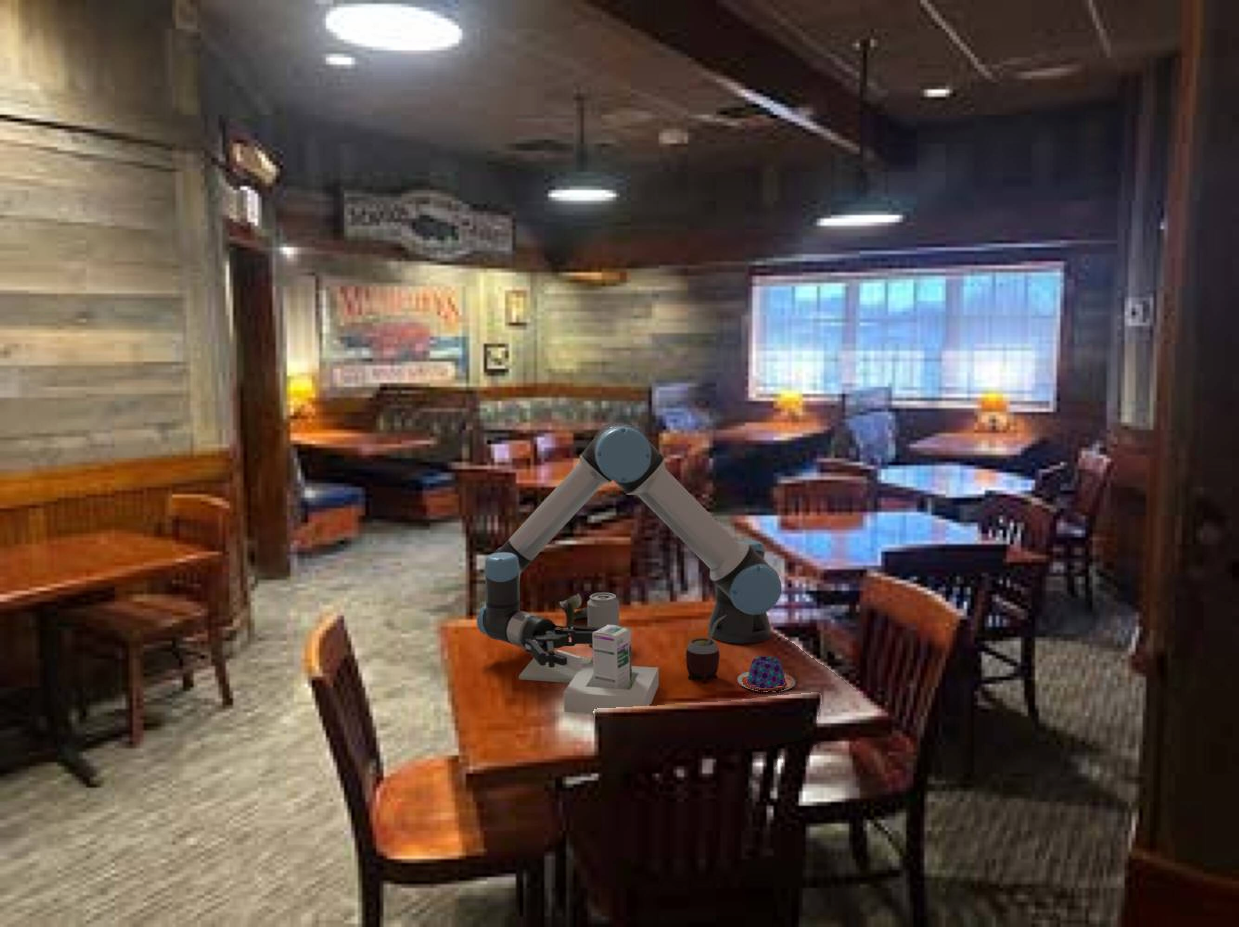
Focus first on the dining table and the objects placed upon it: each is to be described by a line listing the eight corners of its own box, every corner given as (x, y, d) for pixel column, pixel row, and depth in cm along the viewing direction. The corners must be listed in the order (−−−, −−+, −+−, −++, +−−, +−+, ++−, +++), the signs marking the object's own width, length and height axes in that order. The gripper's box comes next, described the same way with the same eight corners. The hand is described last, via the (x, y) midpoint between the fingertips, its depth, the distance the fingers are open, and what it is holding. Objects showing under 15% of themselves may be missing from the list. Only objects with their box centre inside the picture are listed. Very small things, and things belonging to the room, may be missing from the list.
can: (620, 639, 216) (620, 591, 214) (617, 650, 209) (617, 600, 207) (590, 638, 217) (589, 590, 215) (585, 649, 210) (585, 599, 208)
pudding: (807, 685, 187) (807, 661, 187) (768, 700, 180) (768, 675, 179) (764, 669, 197) (764, 646, 196) (725, 682, 189) (725, 658, 189)
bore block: (658, 686, 187) (658, 667, 187) (644, 717, 172) (644, 697, 171) (584, 680, 190) (583, 662, 190) (564, 711, 175) (563, 692, 174)
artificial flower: (505, 636, 224) (505, 596, 225) (587, 632, 234) (586, 593, 236) (518, 637, 216) (517, 595, 217) (602, 632, 226) (601, 593, 228)
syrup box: (617, 706, 177) (616, 635, 175) (592, 700, 180) (591, 630, 178) (632, 696, 182) (632, 627, 180) (608, 690, 185) (607, 623, 183)
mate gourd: (683, 672, 194) (683, 605, 192) (719, 671, 195) (719, 604, 193) (689, 685, 187) (689, 616, 185) (726, 684, 188) (727, 615, 186)
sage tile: (592, 661, 202) (592, 657, 202) (577, 683, 189) (577, 679, 189) (536, 657, 204) (536, 654, 204) (518, 679, 192) (518, 675, 192)
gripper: (573, 634, 204) (644, 656, 190) (488, 665, 186) (559, 691, 172) (573, 602, 203) (644, 621, 189) (487, 630, 185) (558, 653, 171)
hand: (604, 654), depth 181 cm, fingers open, 13 cm apart
